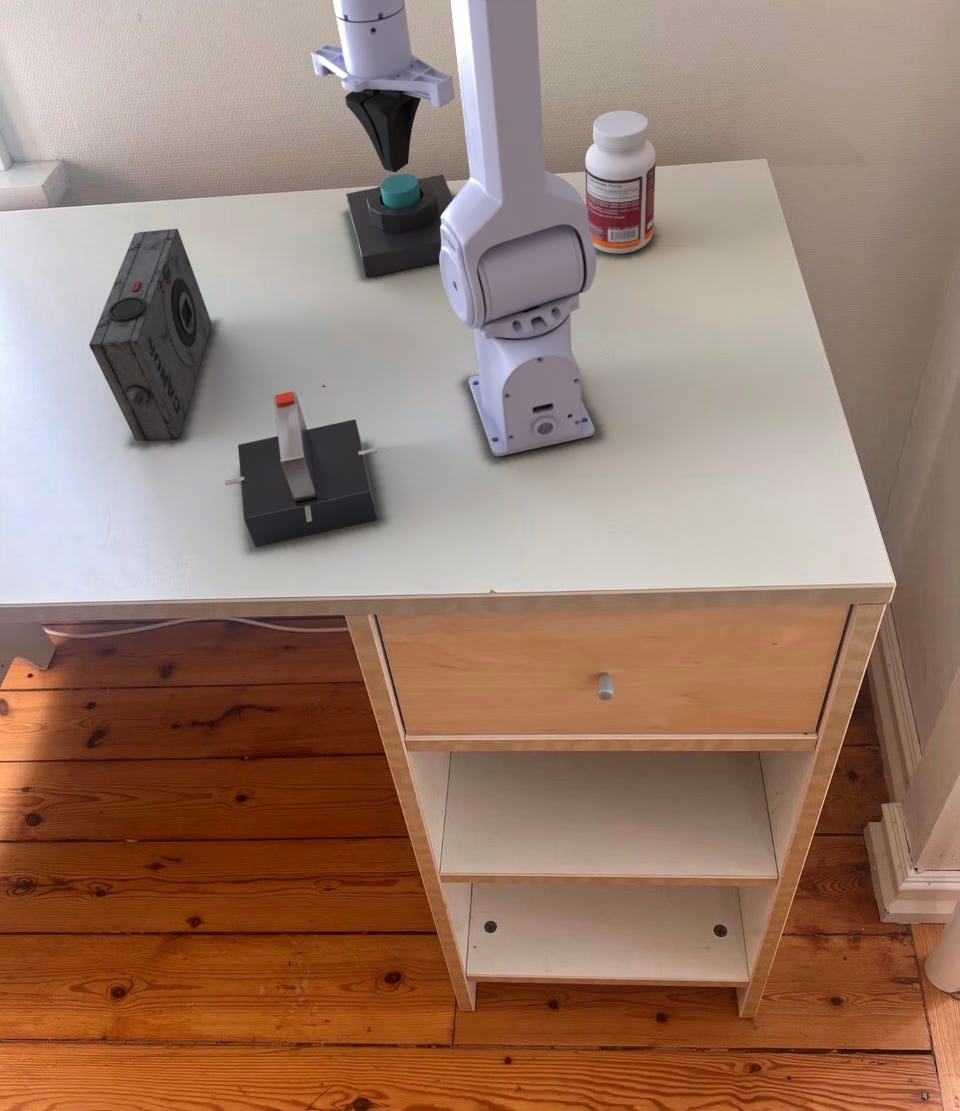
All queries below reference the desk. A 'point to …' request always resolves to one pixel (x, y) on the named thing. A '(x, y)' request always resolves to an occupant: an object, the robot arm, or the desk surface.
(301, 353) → the desk surface
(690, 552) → the desk surface
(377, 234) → the control block
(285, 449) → the red-tipped silver slab
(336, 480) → the tap deck
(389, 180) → the button
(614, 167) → the pill bottle
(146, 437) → the camera
